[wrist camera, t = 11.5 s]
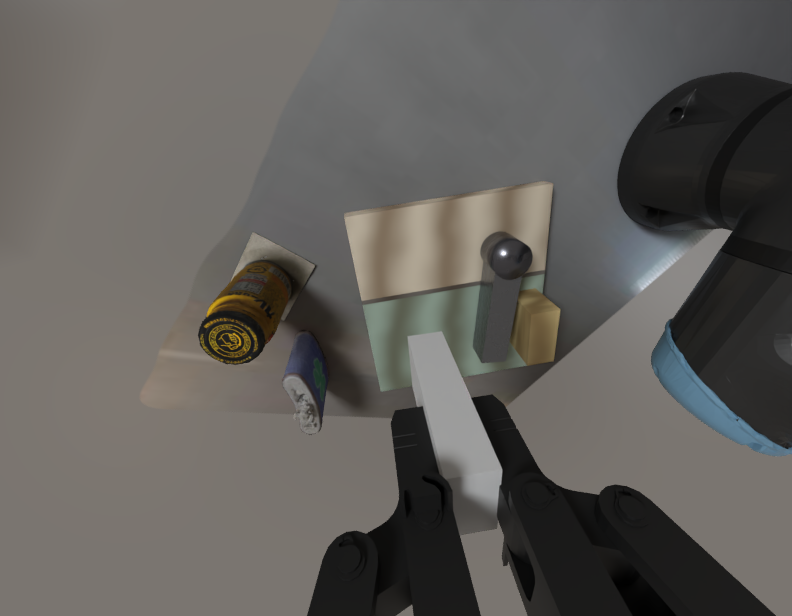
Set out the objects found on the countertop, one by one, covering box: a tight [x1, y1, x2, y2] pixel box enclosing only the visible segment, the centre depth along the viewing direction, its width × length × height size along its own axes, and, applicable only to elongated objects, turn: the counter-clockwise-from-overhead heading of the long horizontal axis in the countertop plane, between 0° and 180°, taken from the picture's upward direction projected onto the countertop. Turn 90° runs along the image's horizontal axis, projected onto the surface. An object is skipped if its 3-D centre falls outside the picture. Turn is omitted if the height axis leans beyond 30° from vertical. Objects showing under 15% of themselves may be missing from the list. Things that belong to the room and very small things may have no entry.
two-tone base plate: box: [344, 181, 560, 392], centre depth 37 cm, size 22×24×8 cm
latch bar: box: [472, 231, 533, 363], centre depth 37 cm, size 15×4×4 cm, turn 0°
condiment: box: [198, 232, 315, 365], centre depth 32 cm, size 7×8×12 cm
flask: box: [282, 331, 329, 435], centre depth 38 cm, size 9×3×11 cm, turn 9°
